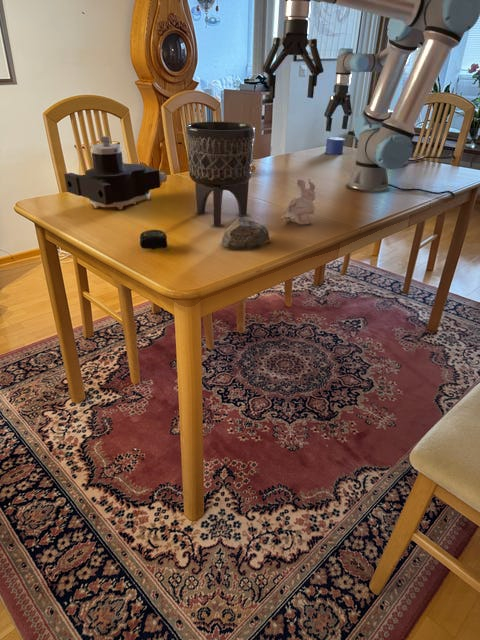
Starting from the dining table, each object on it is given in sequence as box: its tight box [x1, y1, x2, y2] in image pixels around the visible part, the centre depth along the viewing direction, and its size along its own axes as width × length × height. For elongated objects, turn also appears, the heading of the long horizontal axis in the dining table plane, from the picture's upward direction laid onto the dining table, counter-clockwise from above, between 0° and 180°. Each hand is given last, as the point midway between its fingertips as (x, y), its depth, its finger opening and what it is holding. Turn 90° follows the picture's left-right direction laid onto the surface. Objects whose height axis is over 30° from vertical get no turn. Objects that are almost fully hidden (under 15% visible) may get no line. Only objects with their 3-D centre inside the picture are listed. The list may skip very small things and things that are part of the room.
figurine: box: [281, 177, 316, 225], centre depth 135 cm, size 8×15×13 cm, turn 145°
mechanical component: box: [63, 135, 168, 210], centre depth 149 cm, size 22×21×30 cm
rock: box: [221, 216, 270, 250], centre depth 119 cm, size 13×9×6 cm, turn 131°
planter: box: [185, 121, 256, 227], centre depth 134 cm, size 20×20×26 cm
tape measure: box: [139, 229, 168, 250], centre depth 117 cm, size 7×7×4 cm
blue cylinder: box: [325, 136, 345, 156], centre depth 240 cm, size 9×9×7 cm
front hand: (291, 98), depth 146 cm, fingers open, 13 cm apart
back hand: (336, 130), depth 236 cm, fingers open, 13 cm apart
